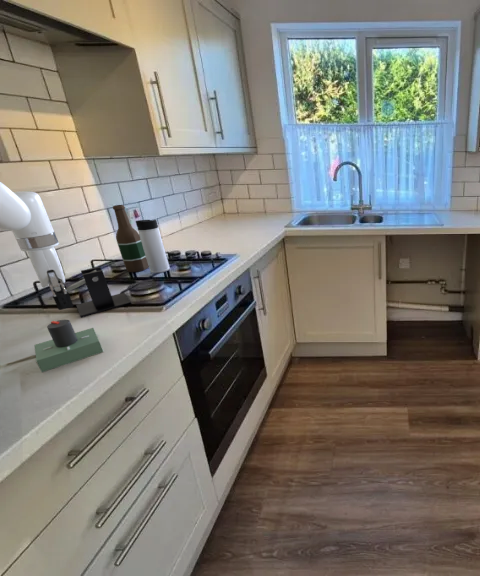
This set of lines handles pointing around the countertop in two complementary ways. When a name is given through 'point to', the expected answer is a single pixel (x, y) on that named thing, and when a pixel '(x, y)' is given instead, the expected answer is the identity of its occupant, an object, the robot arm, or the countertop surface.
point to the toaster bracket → (99, 294)
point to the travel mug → (153, 246)
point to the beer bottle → (129, 242)
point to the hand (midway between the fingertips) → (64, 303)
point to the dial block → (67, 350)
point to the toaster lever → (76, 285)
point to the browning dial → (62, 333)
